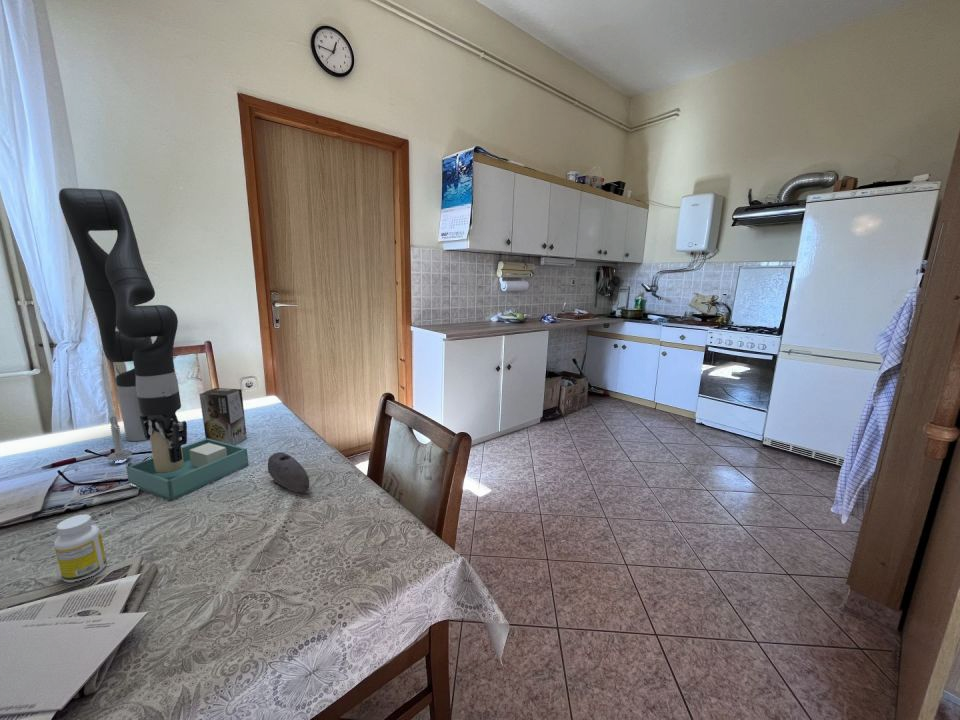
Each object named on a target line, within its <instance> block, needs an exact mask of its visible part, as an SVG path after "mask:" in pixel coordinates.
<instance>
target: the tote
mask: <svg viewBox="0 0 960 720" xmlns="http://www.w3.org/2000/svg"><path fill="white" fill-rule="evenodd" d="M207 443H211V444H215V445H219V446H222V447H226V451H227V456H226V457H223V458H221V459H219V460H216V461H214V462H211V463H209V464H207V465H204V466H202V467H199V468H197V467H194V466H191V459H190V452H189V450H190V449H193V448H196V447H199V446H201V445H204V444H207ZM182 453H183V460H184V466H183V467H182V468H180V469H178V470H176V471H173V472H169V473H157V472H156V471H155V466H154V460H153V457H151V458H148V459H146V460H143V461H142V460H141V461H139V462H137V463H134V464H131V465H129V466H126V468H125V469H126V475H127V481H128V484H129V483H132V484H134V485H136V486H137V487H139V489H138V490H139V491H142V492H145V493H148V494H151V495H154V496H156V497H159V498H161V499H164V500H167V501H168V502H173V501H175V500H176V499H179V498H181V497H183V496H185V495H187V494H189V493H191V492H193V491H196V490H199V489H201V488H203V487H205V486H206V485H209V484H211V483H213V482H216V481H218V480H220V479H222V478H224V477H226V476H228V475H231V474H233V473H236V472H237V471H239V470H242V469H244V468H246V467H248V466H249V457H248V448H245V447H242V446H241V447H240V446H238V445H231V444H227V443H223V442H220V441H216V440H212V439H208V438H207V439H206V438H204V439H201V440H199V441H195V442H193V443H190V444H186V445H183V446H182Z"/></svg>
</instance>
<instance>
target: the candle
mask: <svg viewBox="0 0 960 720" xmlns="http://www.w3.org/2000/svg"><path fill="white" fill-rule="evenodd" d="M171 434H172V433H168V434H167V435H171ZM149 441H151V442H150V448H151V452H152V458H153V460H154V466H155V471H156V472H157V473H169V472H173V471H176V470H178V469H180V468H182V467H183V466H184V460H183V453H182V460H180V461H178V462H175V463H172V462H171V461H170V455H169V449H168V448H169V447H168V445H167V442H166V440H163V439H162V436H161V434H160V433H159V432H157V431H156V432H155V433H154V434H153V435H152V436H151V437H150V439H149ZM171 441H172V438H171ZM172 443H173V442H172ZM182 447H183V445H181V452H182Z"/></svg>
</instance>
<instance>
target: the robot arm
mask: <svg viewBox="0 0 960 720" xmlns="http://www.w3.org/2000/svg"><path fill="white" fill-rule="evenodd" d="M58 200H59V205H60V208H61V211H62V214H63V218H64V220H65V222H66V225H67V227H68V230H69V233H70V236H71V238H72V241H73V243H74V247H75V250H76V252H77V256H78V258H79V259H78V260H79V263H80V267H81V271H82V274H83V279H84V282H85V286H86V290H87V293H88V296H89V299H90V302H91V304H92V308H93V311H94V314H95V317H96V320H97V325H98V331H99V335H100V339H101V345H102V349H103V352H104V355H105V357H106V359H107V360H108V361H109V362H111V363H130V362H132V363H133V368H131V369H130V370H127V371H124V372H122V373H119V374H117V376H116V377H115V382H116V389H117V395H118V399H119V405H120V411H121V416H122V422H123V428H124V434H125V439H126V440H127V441H129V442H139V441H140V442H141V441H147V440H149V441H150V437H151V436H152V435H153V434H154V433H155V432H156V431H157V432H159V433H160V434H161V436H162V439H163V440H166V442H167V445H168V447H169V448H168V449H169V455H170V461H171V462H172V463H175V462H178V461H180V460H182V452H181V446H185V445H188V426H187V425H188V424H187V421H185V420H183V421H180V420H179V419H178V417H177V414H176V412H177V411H178V410H180V409H181V408H182V402H181V401H182V400H181V396H180V387H179V381H178V377H177V374H176V371H175V369H176V368H175V364H174V345H175V339H176V334H177V331H178V325H179V320H178V316H177V313H176V312H175V310H173V308H171V306H168V305H165V304H154V305H152V304H151V305H143V304H147V303H149V302H150V301H152V300H153V299H154V298H155V296H156V292H155V288H154V286H153V284H152V281H151V280H150V277H149V275H148V272H147V270H146V269H145V265H144V264H143V260H142V257H141V253H140V249H139V245H138V240H137V238H136V233H135V230H134V228H133V227H134V226H133V223H132V220H131V216H130V214H129V211H128V207H127V205H126V203H125V200H124V199H123V198H122V197H121V195H120V193H118V192H116V191H115V190H111V189H110V190H109V189H100V188H99V189H97V188H80V187H79V188H77V187H73V188H72V187H66V188H62V189H60V190H59V193H58ZM92 231H94V232H99V231H100V232H103V231H105V232H107V231H116V233H117V235H116V240H115V243H114V244H113V247H112V248H111V250H110V252H109V253H108V252H107V251H105V250H104V249H103V248H102V247H101V246H100V245H99V244H98V243H97V242H96V240H95V239H94V238H92V236H91V235H90V233H89V232H92ZM116 329H117V330H116ZM154 337H156V338H155V340H154V342H153V339H152V338H154ZM168 433H172V434H171V435H167V434H168ZM171 438H172V441H171ZM172 442H173V443H172ZM149 443H151V441H150V442H149Z"/></svg>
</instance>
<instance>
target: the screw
mask: <svg viewBox="0 0 960 720" xmlns="http://www.w3.org/2000/svg"><path fill="white" fill-rule="evenodd" d="M109 421H110V422H109V423H110V427H111V428H110V429H111V430H110V431H111V436H112V443H113V445H112V446H113V449H114V452H112V453H110V454H109V455H108V456H107V460H108V461H113V462H114V461H117V460H118V461H119V460H124V459H128V457H130V456H131V455H132V454H133V451H131V450H127V449H126V450H125V448H124V444H123V438H122V434H121V433H122V431H121V428H120V425H119V423H118V418H117V416H112V417H110V418H109Z"/></svg>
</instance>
